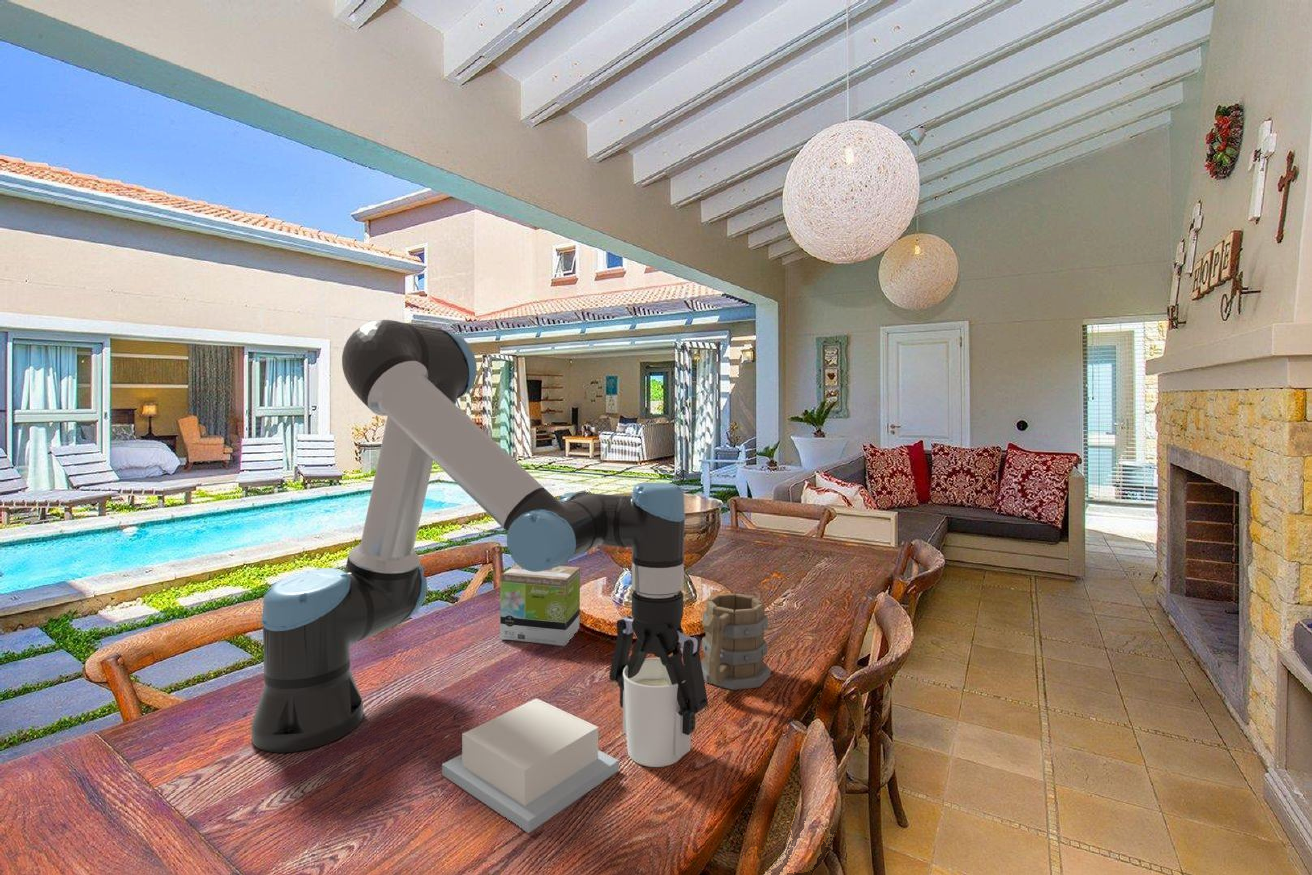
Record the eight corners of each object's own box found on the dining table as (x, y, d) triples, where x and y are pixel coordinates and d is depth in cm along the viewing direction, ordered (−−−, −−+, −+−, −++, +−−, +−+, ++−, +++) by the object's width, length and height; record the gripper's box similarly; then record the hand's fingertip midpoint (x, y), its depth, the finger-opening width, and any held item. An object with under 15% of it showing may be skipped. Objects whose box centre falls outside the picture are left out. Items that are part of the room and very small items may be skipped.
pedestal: (442, 774, 83) (441, 731, 83) (533, 726, 96) (533, 689, 95) (528, 833, 72) (528, 784, 72) (618, 770, 85) (619, 728, 84)
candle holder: (651, 726, 96) (652, 652, 96) (702, 748, 90) (703, 669, 90) (608, 753, 89) (608, 672, 88) (660, 780, 83) (661, 693, 82)
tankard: (717, 655, 124) (718, 582, 123) (777, 669, 118) (778, 593, 117) (669, 694, 107) (670, 610, 106) (735, 714, 101) (737, 625, 100)
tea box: (498, 641, 130) (498, 573, 129) (517, 624, 140) (517, 561, 139) (566, 647, 127) (566, 577, 126) (580, 630, 137) (581, 565, 136)
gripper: (736, 599, 84) (733, 756, 86) (618, 571, 98) (617, 707, 99) (706, 613, 79) (703, 782, 80) (585, 581, 92) (584, 726, 93)
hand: (655, 740), depth 89 cm, fingers closed on candle holder, 9 cm apart
